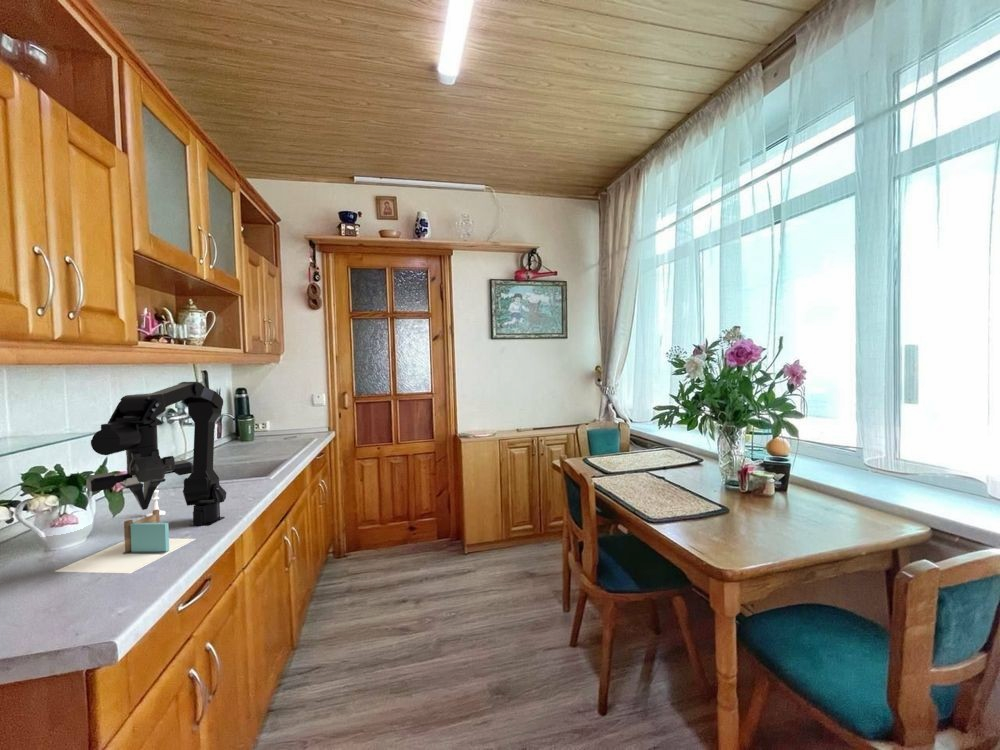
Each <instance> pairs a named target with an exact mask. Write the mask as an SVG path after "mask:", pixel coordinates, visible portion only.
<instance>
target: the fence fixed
mask: <svg viewBox="0 0 1000 750" xmlns="http://www.w3.org/2000/svg"><path fill="white" fill-rule="evenodd" d="M159 509H160V508H159ZM159 509H157V510H153V515H150V516H148V517H146V516H145V517H144V518H143V517H142V518H141V519H138V520H135V521H133V520H134V519H128V520H125V521H123V530H124V541H125V553H130V552H131V526H130V524H133V523H161V519H160V516H161V515H159Z"/></svg>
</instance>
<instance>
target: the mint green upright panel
mask: <svg viewBox="0 0 1000 750" xmlns="http://www.w3.org/2000/svg"><path fill="white" fill-rule="evenodd" d="M130 526H131V552H152V551H168V550H169V538H170V535H169V534H170V531H169V529H170V528H169V522H160V523H133V524H130Z"/></svg>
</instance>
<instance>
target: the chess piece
mask: <svg viewBox="0 0 1000 750" xmlns="http://www.w3.org/2000/svg"><path fill="white" fill-rule="evenodd" d="M158 488H159V486H157V487H156V489H155V491H154V493H153V495H152V498H151V501H153V502H152V507H151V508H152V509H151V511H150V512H149V513H146V514H145V517H148V516H150V515H153V510H157V509H159V515H160V516H163V515H164V516H165V515H166V511H165V510H161V509H160V508H159V503H158V500H159V499H160V497H159V492H160V490H159V489H158Z"/></svg>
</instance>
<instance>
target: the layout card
mask: <svg viewBox="0 0 1000 750" xmlns="http://www.w3.org/2000/svg"><path fill="white" fill-rule="evenodd" d="M195 540H196V538H171V537H169V550H168V551H152V552H130V553H125V540H124V541H121V542H119V543H116V544H114V545H112V546H109V547H107V548H105V549H103V550H100V551H99V552H95V553H94V554H91V555H89V556H87V557H83V558H82V559H79V560H78V561H75V562H73V563H71V564H68V565H66V566H64V567H62V568H59V569H57V570H55V571H54V572H57V573H59V572H60V573H90V574H91V573H92V574H95V573H97V574H103V573H104V574H132V573H134V572H136V571H138V570H140V569H141V568H143V567H145V566H147V565H149V564H151V563H153V562H155V561H157V560H159V559H161V558H162V557H164V556H166V555H169V554H170V553H172V552H174V551H176V550H178V549H179V548H183V546H186V545H188V544H189V543H191V542H193V541H195Z"/></svg>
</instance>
